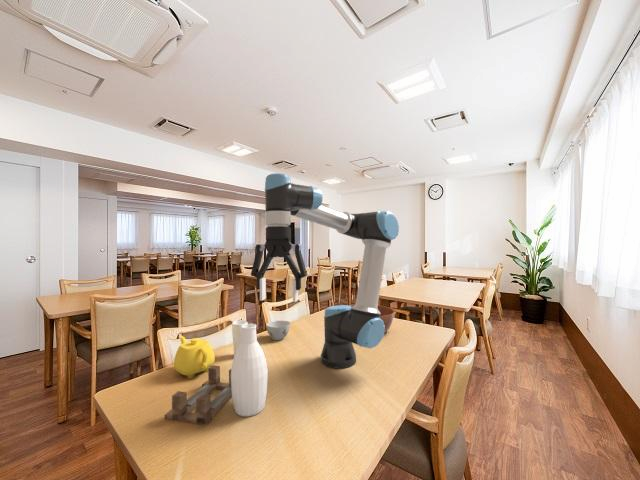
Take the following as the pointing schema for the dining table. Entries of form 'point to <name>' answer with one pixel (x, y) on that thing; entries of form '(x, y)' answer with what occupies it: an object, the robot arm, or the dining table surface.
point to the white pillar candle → (237, 333)
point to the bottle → (249, 374)
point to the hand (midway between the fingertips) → (279, 300)
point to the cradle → (201, 400)
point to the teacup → (278, 329)
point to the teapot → (193, 357)
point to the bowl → (386, 316)
